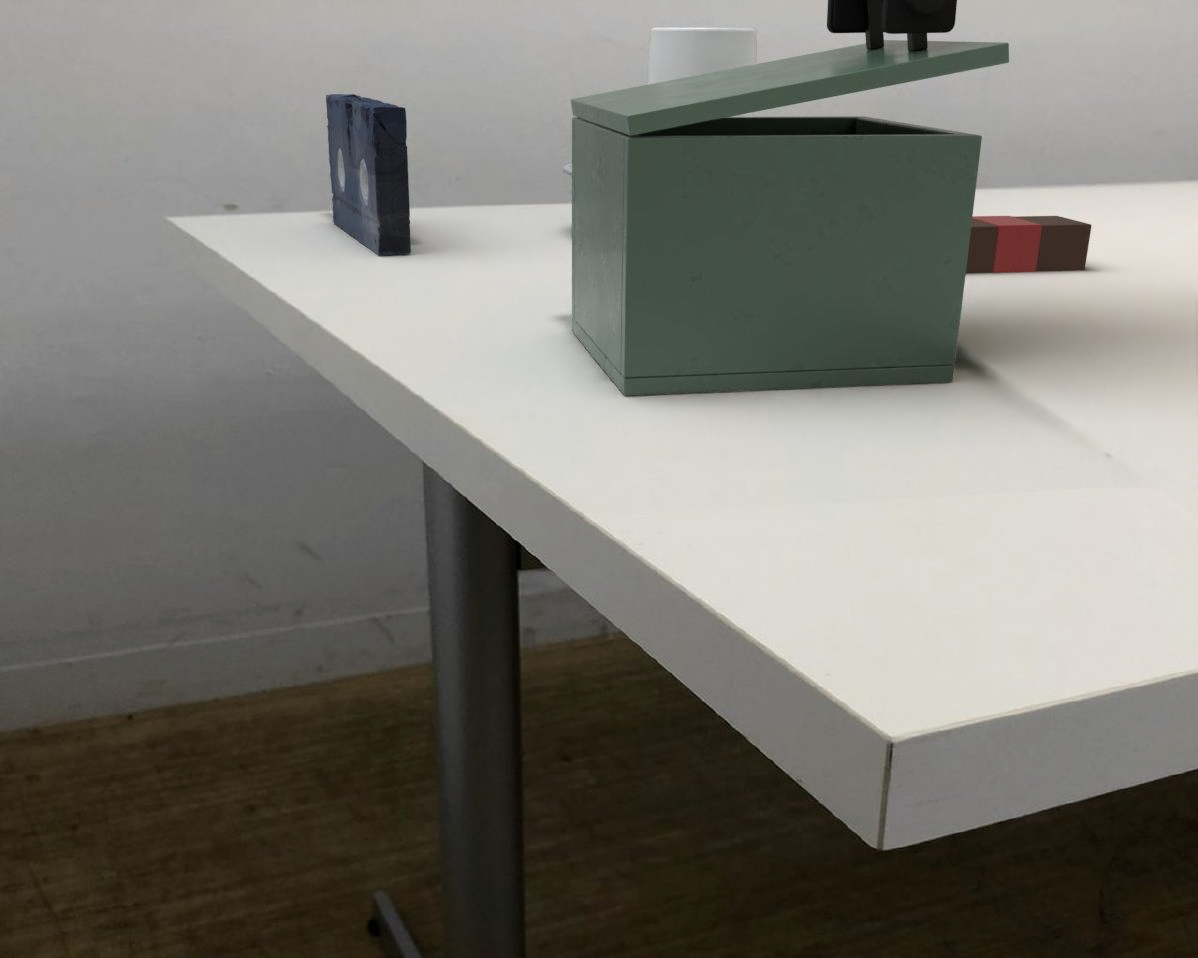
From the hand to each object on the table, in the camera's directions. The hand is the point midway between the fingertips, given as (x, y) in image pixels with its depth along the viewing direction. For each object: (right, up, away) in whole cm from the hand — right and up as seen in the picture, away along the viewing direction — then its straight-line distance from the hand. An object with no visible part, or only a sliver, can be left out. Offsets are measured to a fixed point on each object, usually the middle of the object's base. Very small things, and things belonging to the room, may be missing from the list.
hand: (887, 28), depth 60 cm
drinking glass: (-7, -5, +26) cm, 28 cm away
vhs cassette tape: (-31, +1, +41) cm, 51 cm away
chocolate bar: (+13, -5, +26) cm, 30 cm away
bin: (-6, -14, +5) cm, 16 cm away
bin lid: (-5, -3, 0) cm, 6 cm away
